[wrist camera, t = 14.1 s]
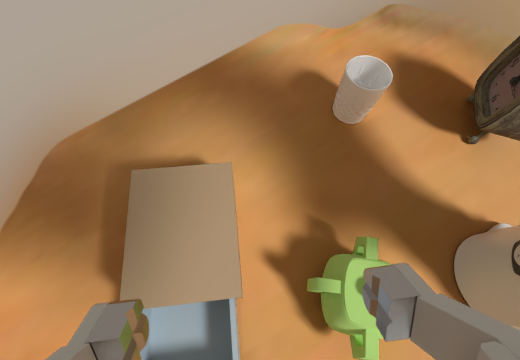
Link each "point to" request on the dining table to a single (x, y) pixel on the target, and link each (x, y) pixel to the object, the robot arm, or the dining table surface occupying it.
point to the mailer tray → (193, 332)
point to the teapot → (350, 297)
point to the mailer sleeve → (181, 236)
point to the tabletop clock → (499, 96)
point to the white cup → (361, 88)
